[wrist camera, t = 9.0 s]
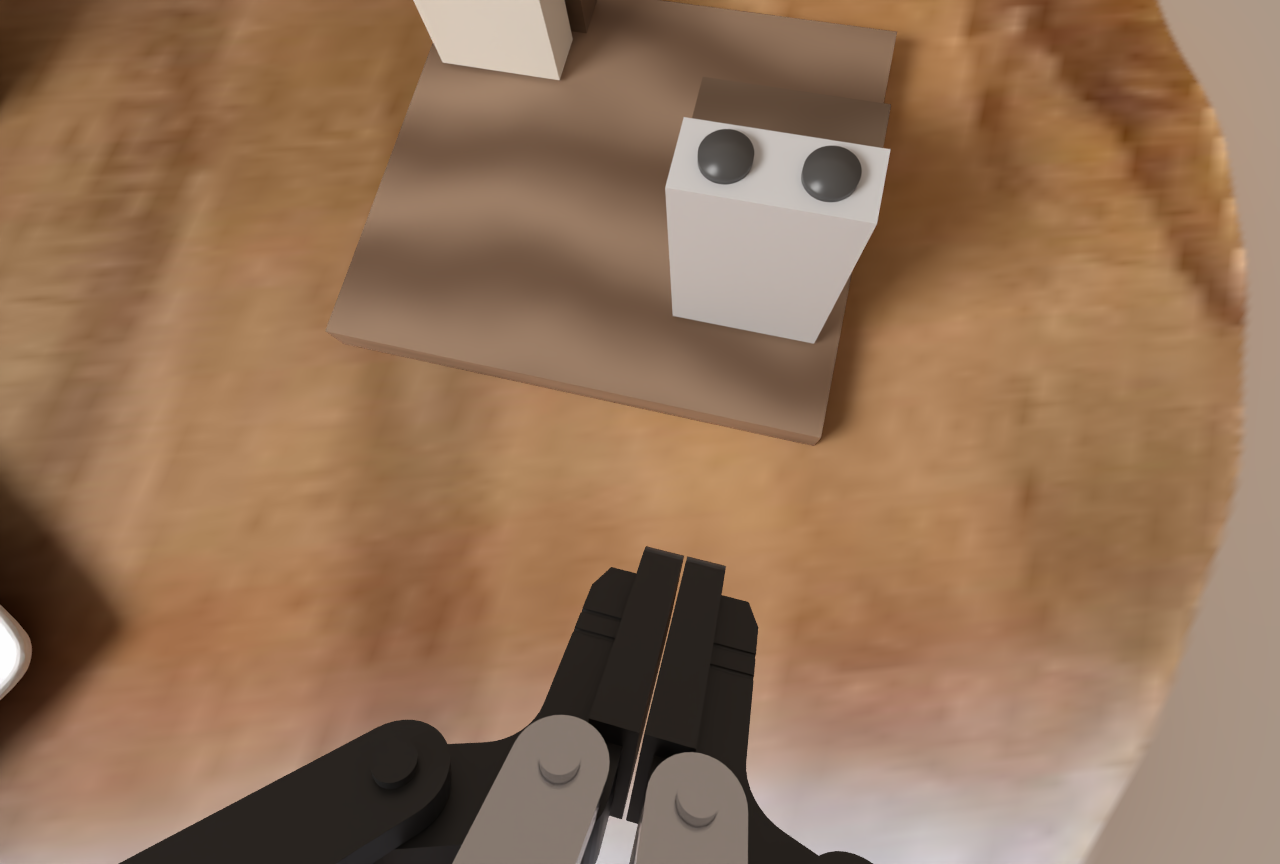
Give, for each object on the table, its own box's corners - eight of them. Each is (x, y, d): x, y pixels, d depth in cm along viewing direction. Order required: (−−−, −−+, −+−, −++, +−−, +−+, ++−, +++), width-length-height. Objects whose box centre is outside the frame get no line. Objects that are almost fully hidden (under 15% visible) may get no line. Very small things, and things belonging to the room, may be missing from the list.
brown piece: (813, 445, 27) (852, 403, 21) (343, 343, 30) (249, 278, 23) (887, 57, 31) (937, -77, 25) (468, -1, 34) (418, -135, 28)
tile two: (814, 343, 26) (880, 217, 17) (672, 315, 27) (664, 181, 18) (824, 291, 27) (893, 142, 18) (685, 265, 27) (683, 109, 18)
